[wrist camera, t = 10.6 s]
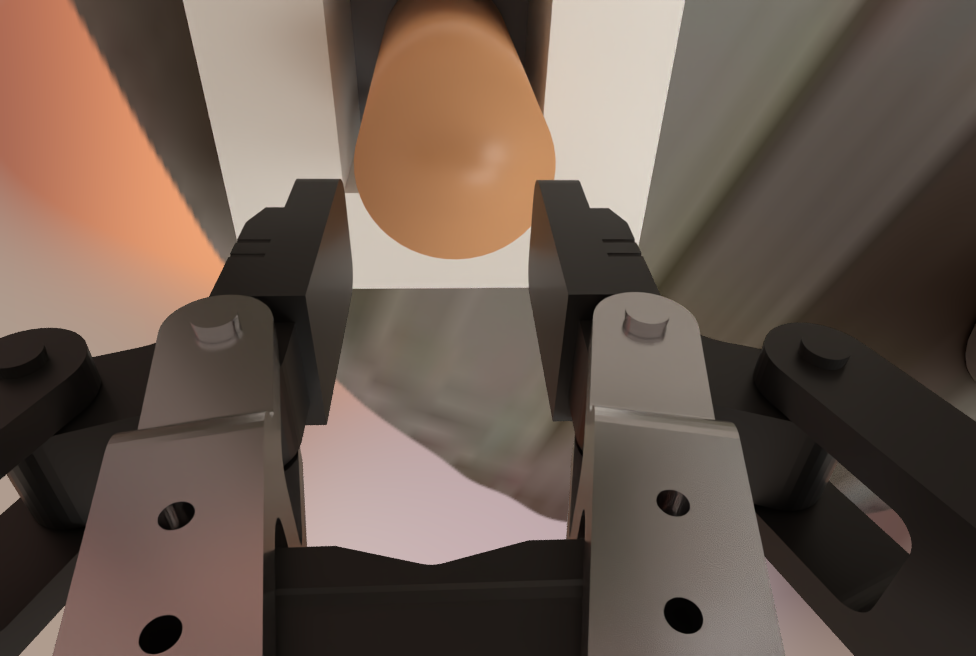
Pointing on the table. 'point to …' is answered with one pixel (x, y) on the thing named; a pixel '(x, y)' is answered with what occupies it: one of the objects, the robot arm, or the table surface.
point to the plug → (451, 132)
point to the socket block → (344, 91)
